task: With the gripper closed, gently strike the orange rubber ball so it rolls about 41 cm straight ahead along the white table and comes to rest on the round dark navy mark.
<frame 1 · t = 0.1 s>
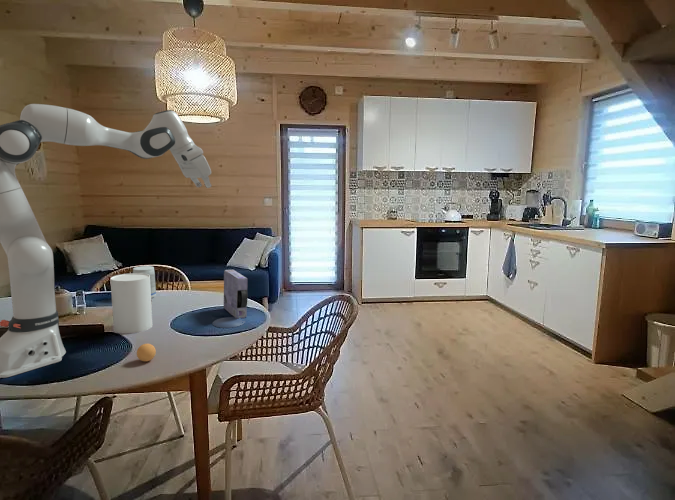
hand: (204, 187, 162), 54 cm above the table, tool tilted 30°, fingers open, 8 cm apart
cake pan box: (235, 313, 185), on the table
flower: (142, 309, 188), on the table
ball: (146, 352, 134), on the table
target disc: (229, 322, 172), on the table
supplement tub: (145, 297, 207), on the table
canister: (133, 327, 165), on the table
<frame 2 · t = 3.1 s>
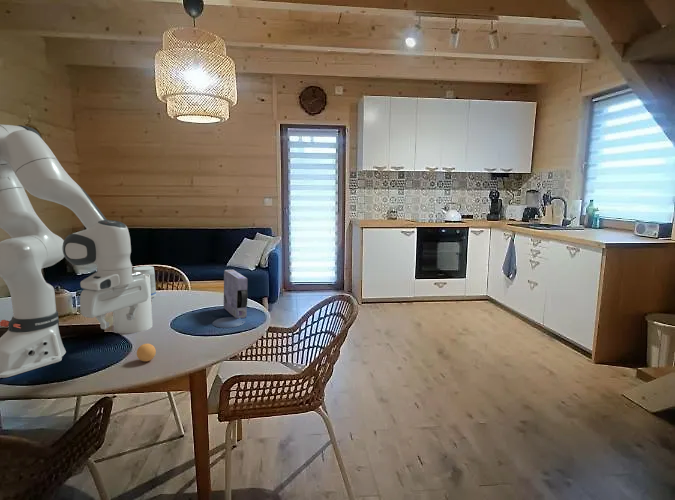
hand: (118, 323, 124), 15 cm above the table, tool pointing down, fingers open, 7 cm apart
nothing on the table moved.
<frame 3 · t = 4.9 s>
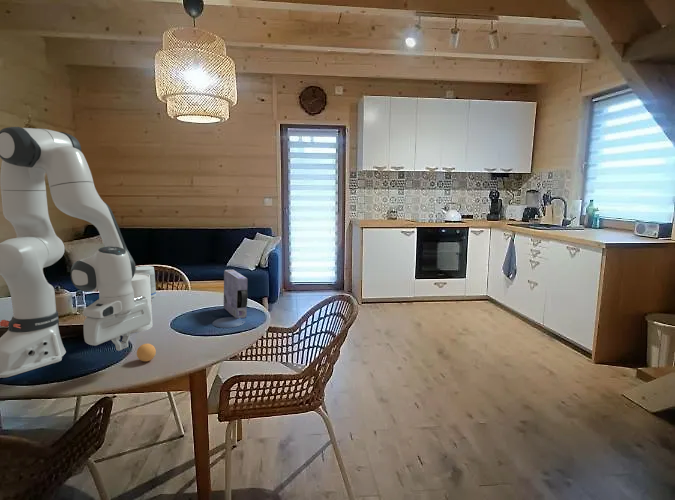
hand: (122, 348, 125), 8 cm above the table, tool pointing down, fingers closed
nothing on the table moved.
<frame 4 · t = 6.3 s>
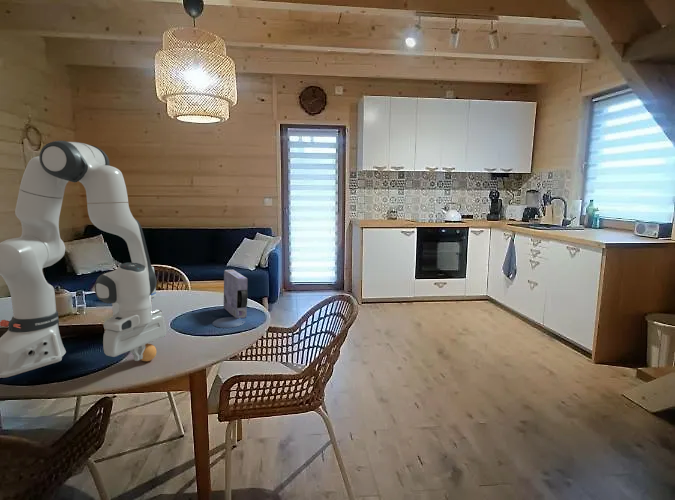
hand: (138, 359, 131), 2 cm above the table, tool pointing down, fingers closed
ball: (147, 352, 135), on the table, touching gripper
everything else where it was.
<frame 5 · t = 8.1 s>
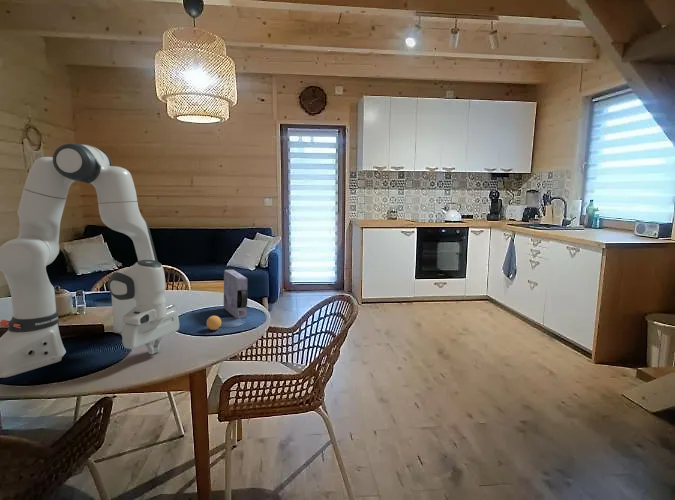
hand: (153, 352, 137), 2 cm above the table, tool pointing down, fingers closed
ball: (214, 322, 164), on the table
everything else where it was.
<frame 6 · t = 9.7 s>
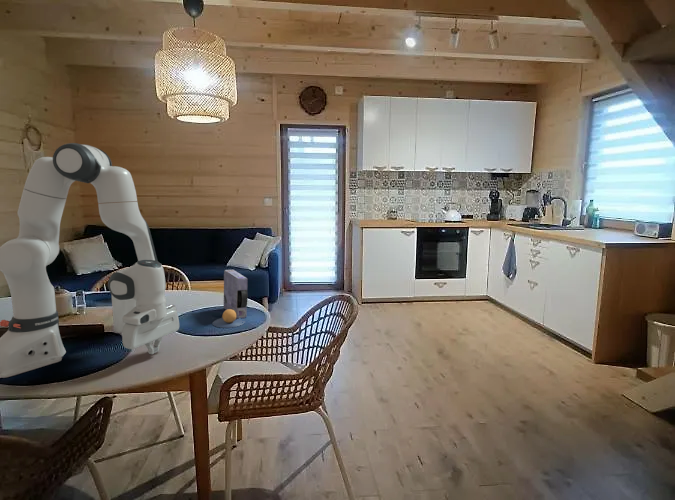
hand: (153, 352, 137), 2 cm above the table, tool pointing down, fingers closed
ball: (229, 315, 172), on the table
everything else where it was.
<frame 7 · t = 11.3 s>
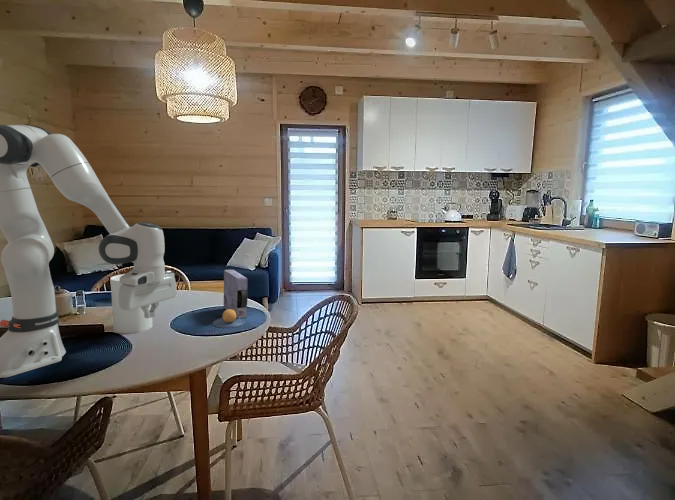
hand: (149, 317, 135), 13 cm above the table, tool pointing down, fingers closed
nothing on the table moved.
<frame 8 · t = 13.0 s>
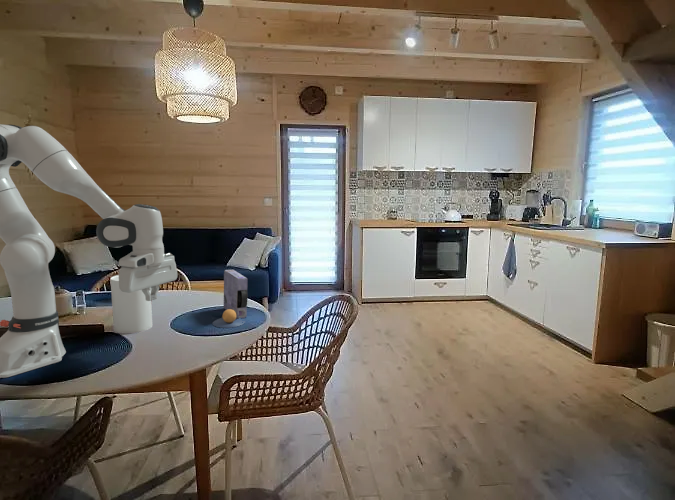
hand: (151, 299, 135), 19 cm above the table, tool pointing down, fingers closed
nothing on the table moved.
at the end: ball 0.2 cm from the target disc (horizontally); ball at rest at the end (0.0 cm/s); ball moved 41.7 cm from its start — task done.
